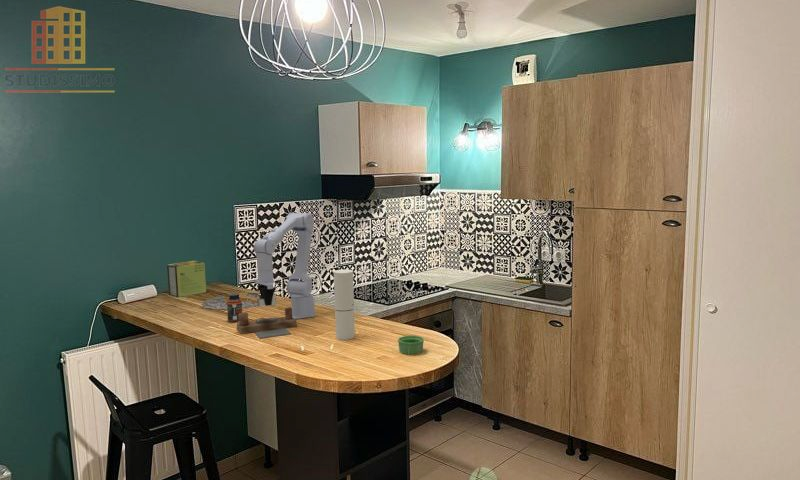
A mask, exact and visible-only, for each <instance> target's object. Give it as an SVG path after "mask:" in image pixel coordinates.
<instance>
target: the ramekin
mask: <svg viewBox="0 0 800 480" xmlns="http://www.w3.org/2000/svg"><path fill="white" fill-rule="evenodd" d="M424 342H425V338H424V337H422V336H419V335H403V336H400V337H398V339H397V343H398V349H399V352H400V353H401V354H402V355H403V354H404V355H408V354H409V355H411V354H413V355H418V353H419V354H421V353H422V352H424V351H423V350H424Z"/></svg>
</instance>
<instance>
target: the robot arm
mask: <svg viewBox="0 0 800 480" xmlns="http://www.w3.org/2000/svg"><path fill="white" fill-rule="evenodd" d="M314 225H315V219H314V217H313V215H312V214H311V213H309V212H306V213H305V212H304V213H302V212H290V213H288V215H286V219H285V220H284V221H283V223H281V225H279V227H278V228H271V229H270V231H269V232H268V233H267V234H266V235H264V236H263V238H259V239H257V240H256V241H255V242H254V244H253V247H252V248H253V251H254V253H255V257H256V259H257V277H258V280H257V281H255V282H254V283H255V284H256V287H257V289H258V291H259V293H260V294H261V295H263V296H264V301H265V305H266V306H265V307H268V305H270V306H272V305H271V304H272V298H273V296H274V294H275V292H276V287H275V286H274V284H275V280H274V267H273V254H274V252H275V251H276V248H277V246H278V245H279V244H280V243H281V242H282V241H283V240H284V239H285V235H286V234H287V233H288V232H289V231H291V230H292V231H293V232H294V233H296V234H297V236H298V240H297V249H296V258H295V262H294V263H295V265H294V272H293V273H291V274H290V275H289V276H288V281H287V284H286V293H287V294H289V297H290V298H291V299H290V302H291V303H290V304H291V305H290V307H291V308H292V317H293V318H294V319H295V320H297V319H298V320H299V319H306V318H314V317H316V310H315V309H316V307H315V306H316V304H315V298H314V295H313V294H311V293H312V292H313V284H312V281H313V278H312V277H311V276H310V275H309V273H308V266H309V258H310V250H311V243H312V235H313V233H314Z"/></svg>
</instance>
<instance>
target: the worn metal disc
mask: <svg viewBox="0 0 800 480" xmlns="http://www.w3.org/2000/svg"><path fill="white" fill-rule="evenodd" d="M247 293H248V294H247V296H249V297H250V296H251V297H254V296H255V297H254V298H257V297H258V296H260V295H258V294H260V292H259V293H257V292H247ZM225 295H226V294H224V295H219V296H214V297H211V298H208V299H206V300H204V301H203V302H202V303H201V306H202V308H203V309H207V310H211V311H227V300H226V299H225V300H226V302H225V301H224V298H225V297H224V296H225ZM257 295H258V296H257ZM274 297H275V298H276V299H277V300H278V298H277V297H276V296H274ZM226 298H227V297H226ZM252 300H253V298H252ZM247 301H248V299H247ZM247 301H243V302H242V310H243V308H244V309H250V307H251V308H257V307H259V306H258V305H257V303H255V304H254V302H251V301H249V302H247ZM256 306H257V307H256Z"/></svg>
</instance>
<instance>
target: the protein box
mask: <svg viewBox="0 0 800 480" xmlns="http://www.w3.org/2000/svg"><path fill="white" fill-rule="evenodd" d="M166 268H167V284H168V294H169V295H170V296H173V297H177V298H181V297H188V296H193V295H198V294H204V293H207V282H206V264H205V261H198V260H191V261H182V262H175V263H170V264H167V265H166Z"/></svg>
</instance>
